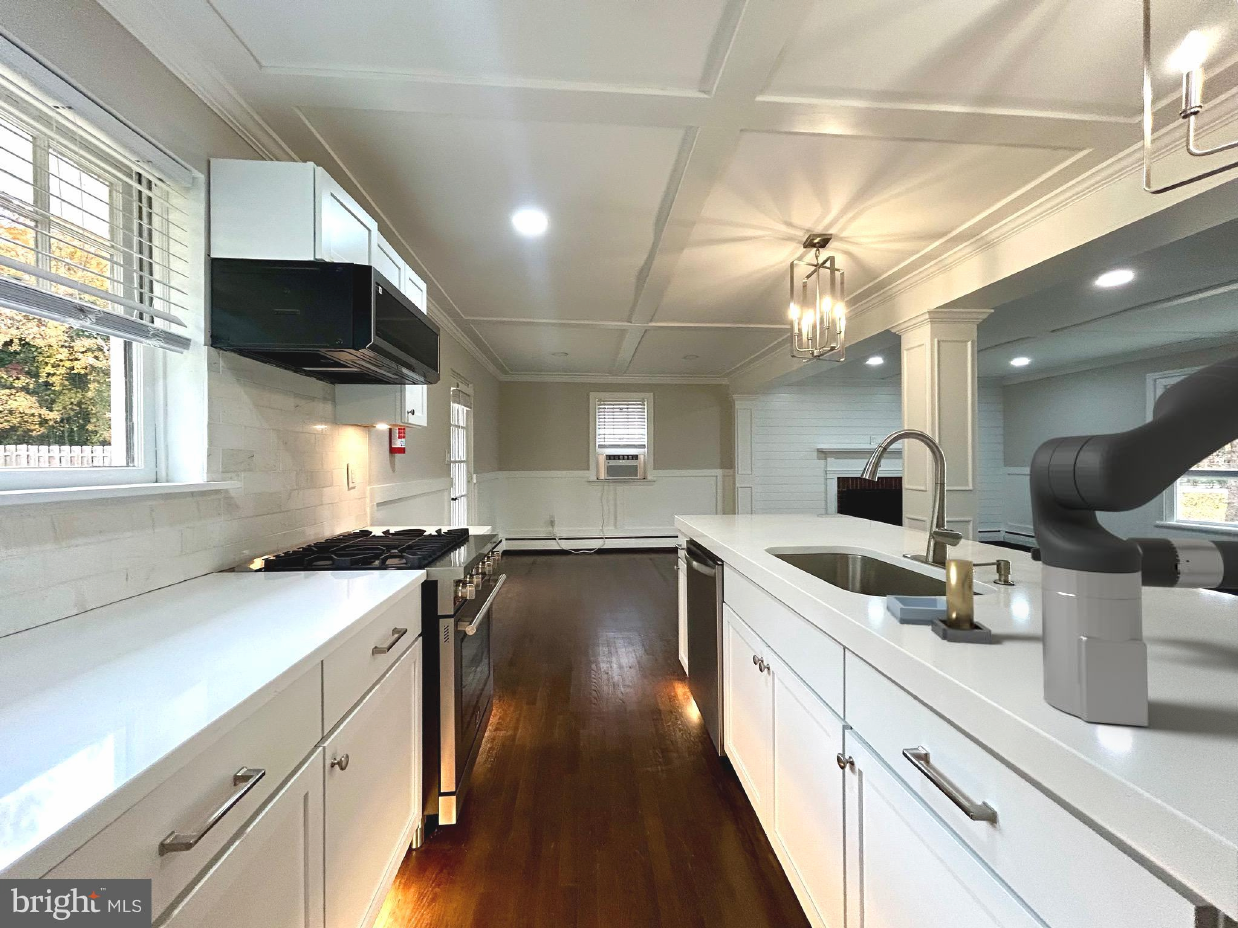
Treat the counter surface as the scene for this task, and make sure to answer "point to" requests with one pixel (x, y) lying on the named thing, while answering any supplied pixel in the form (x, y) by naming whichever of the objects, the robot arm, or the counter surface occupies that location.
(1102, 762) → the counter surface
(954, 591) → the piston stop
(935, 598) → the tray
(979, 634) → the grey square holder
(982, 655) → the counter surface
